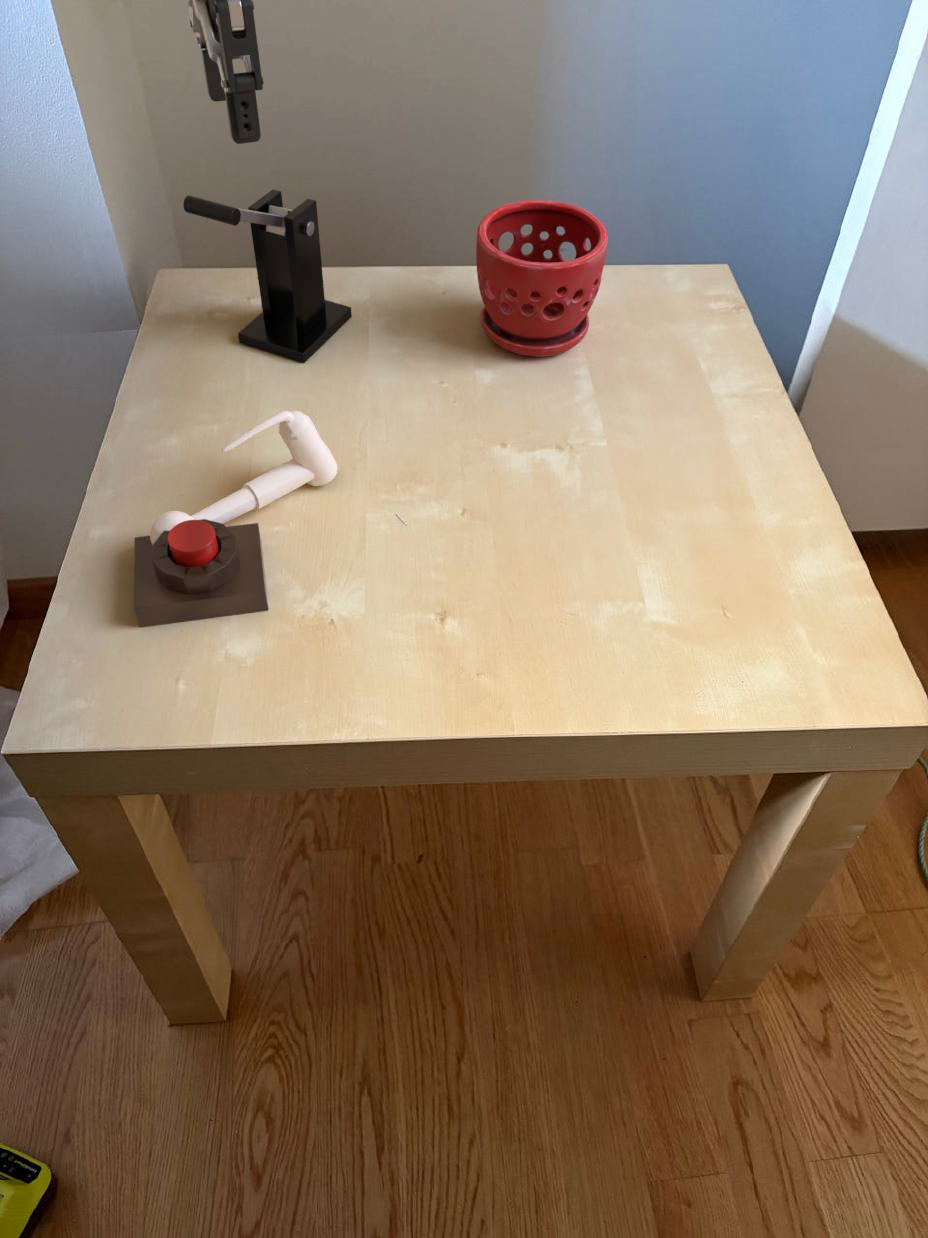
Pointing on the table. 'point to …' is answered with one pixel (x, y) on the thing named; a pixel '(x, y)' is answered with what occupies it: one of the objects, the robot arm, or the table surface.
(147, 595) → the button block
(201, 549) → the button
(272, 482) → the faucet
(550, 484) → the table surface
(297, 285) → the bracket
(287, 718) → the table surface
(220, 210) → the lever
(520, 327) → the flower pot
